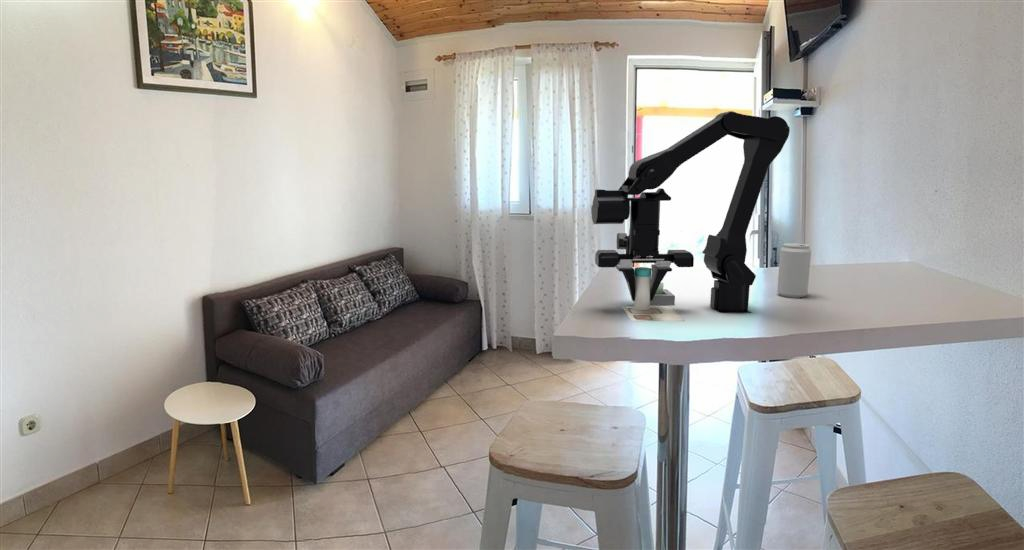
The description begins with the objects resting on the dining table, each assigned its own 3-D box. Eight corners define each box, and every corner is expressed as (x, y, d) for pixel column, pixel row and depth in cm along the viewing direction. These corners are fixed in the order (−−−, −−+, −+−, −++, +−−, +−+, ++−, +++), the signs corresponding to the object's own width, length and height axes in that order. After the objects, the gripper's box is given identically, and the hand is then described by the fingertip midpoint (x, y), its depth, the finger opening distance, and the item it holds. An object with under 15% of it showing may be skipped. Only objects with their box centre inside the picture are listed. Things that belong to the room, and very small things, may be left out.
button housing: (666, 300, 134) (666, 289, 133) (674, 307, 127) (674, 295, 127) (634, 300, 134) (635, 289, 133) (641, 307, 127) (641, 295, 127)
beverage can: (810, 299, 135) (815, 246, 133) (780, 297, 137) (784, 245, 135) (803, 293, 142) (807, 243, 139) (774, 292, 143) (778, 242, 141)
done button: (660, 292, 132) (661, 281, 131) (664, 296, 128) (665, 284, 128) (644, 292, 132) (644, 281, 131) (648, 296, 128) (648, 284, 128)
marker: (648, 306, 123) (649, 267, 122) (651, 310, 120) (653, 269, 119) (631, 306, 123) (633, 267, 122) (635, 310, 120) (636, 269, 119)
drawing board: (672, 307, 126) (672, 305, 126) (691, 324, 113) (691, 321, 113) (615, 307, 127) (615, 305, 126) (628, 324, 113) (628, 321, 113)
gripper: (680, 220, 127) (677, 292, 129) (592, 220, 127) (591, 292, 130) (696, 225, 116) (692, 303, 118) (599, 225, 116) (597, 304, 119)
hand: (641, 300), depth 122 cm, fingers closed on marker, 3 cm apart
